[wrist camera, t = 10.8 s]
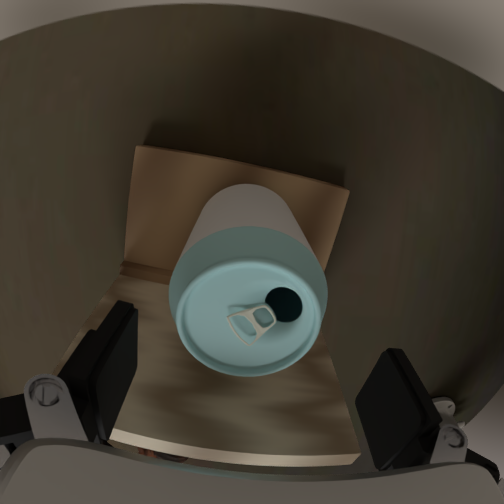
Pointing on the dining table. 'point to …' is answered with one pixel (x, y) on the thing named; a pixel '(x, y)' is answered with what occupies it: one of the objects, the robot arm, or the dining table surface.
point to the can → (247, 285)
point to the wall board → (184, 363)
